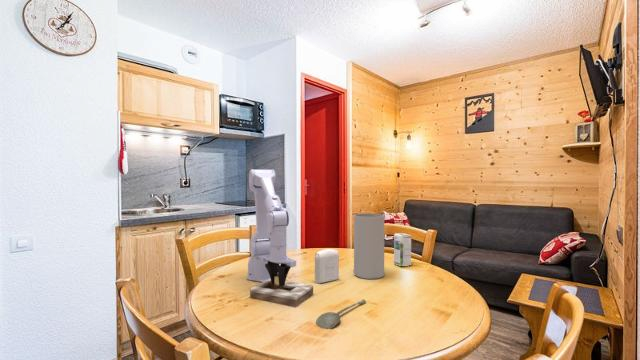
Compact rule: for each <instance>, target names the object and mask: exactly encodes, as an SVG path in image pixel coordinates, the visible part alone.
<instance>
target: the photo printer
mask: <svg viewBox="0 0 640 360" xmlns="http://www.w3.org/2000/svg"><path fill="white" fill-rule="evenodd" d="M339 255H340V253H339V251H338V250H337V249H333V248H325V249H321V250H319V251H317V252H316V253H315V255H314V281H315V283H317V284H322V283H326V282H332V281H337V280H339V279H340V270H339V269H340V256H339Z"/></svg>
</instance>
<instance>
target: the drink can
mask: <svg viewBox="0 0 640 360" xmlns="http://www.w3.org/2000/svg"><path fill="white" fill-rule="evenodd" d="M393 235H394V236H393V247H394V248H393V265H394V264H397V265H399V266H405V265H411V266H412V234H407V233H404V232H396V233H394V234H393ZM397 265H396V266H397ZM399 266H398V267H399Z"/></svg>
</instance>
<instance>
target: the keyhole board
mask: <svg viewBox="0 0 640 360" xmlns="http://www.w3.org/2000/svg"><path fill="white" fill-rule="evenodd" d="M283 287H284V288H286V290H282V289H276V290H273V289H274V284H272V283H271V279H268V280H266V281H264V282H260V283H259V284H256V285H255V286H252V287H250V288H249V298H251V299H257V300H261V301H265V302H270V303H274V304H275V303H276V304H280V305H286V306H290V307H294V308H296V307H298V306H299V305H301V304H302V303H303V302H305V301H306V300H308V299H309V298H310V297H311V296H313V295H314V285H313V284H308V283H302V282H301V283H300V282H295V281H289V280H286V281H285V285H283Z"/></svg>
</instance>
